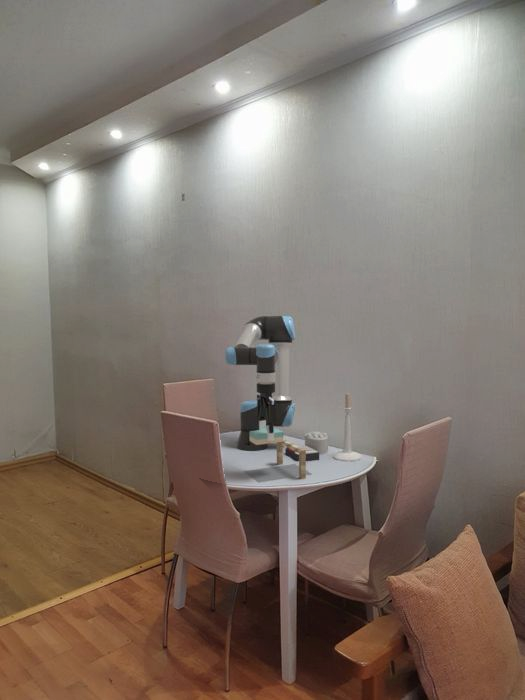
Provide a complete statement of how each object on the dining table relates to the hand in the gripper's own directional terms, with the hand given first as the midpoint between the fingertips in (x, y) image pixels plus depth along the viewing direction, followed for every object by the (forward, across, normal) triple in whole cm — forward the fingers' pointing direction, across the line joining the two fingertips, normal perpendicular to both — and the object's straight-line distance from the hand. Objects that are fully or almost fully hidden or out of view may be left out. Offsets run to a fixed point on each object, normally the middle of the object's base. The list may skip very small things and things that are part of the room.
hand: (266, 438), depth 214 cm
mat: (+15, 0, +5) cm, 16 cm away
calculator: (+16, -18, +26) cm, 35 cm away
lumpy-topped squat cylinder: (+16, -24, +37) cm, 47 cm away
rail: (+15, 0, +11) cm, 19 cm away
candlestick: (+16, -8, +44) cm, 47 cm away
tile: (+1, 0, 0) cm, 1 cm away
